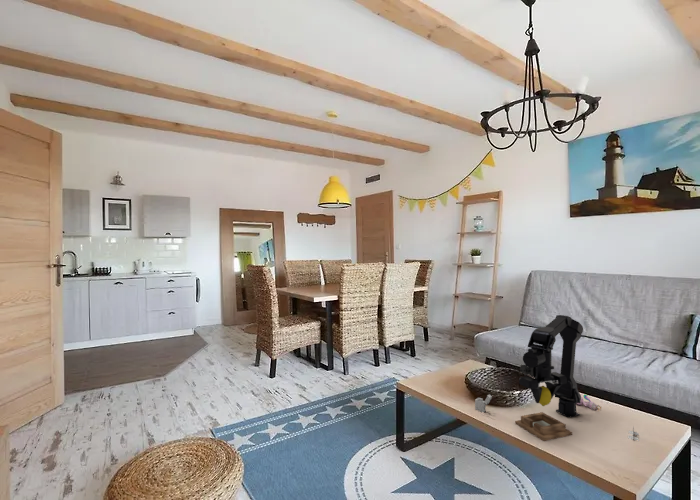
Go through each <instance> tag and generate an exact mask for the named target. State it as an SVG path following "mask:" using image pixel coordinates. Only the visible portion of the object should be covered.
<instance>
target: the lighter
mask: <svg viewBox="0 0 700 500" xmlns="http://www.w3.org/2000/svg"><path fill="white" fill-rule="evenodd" d="M492 398H493V396H492V395H491V394H490V393H489V394H487V395H486V398H485V400H484V398H481V397H477V398H476V399H474V410H475V411H478V412H481V413H486V405H489V403H490V402H491V400H492Z"/></svg>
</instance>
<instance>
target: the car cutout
mask: <svg viewBox="0 0 700 500" xmlns="http://www.w3.org/2000/svg"><path fill="white" fill-rule="evenodd" d="M629 433H630V434H629ZM628 434H629V435H627V438H628V439H629V440H633V439H634V440H633V441H636V440H638V441H637V442H639V440H640V439H639V438H638V436H636V435H639V436H640V434H639V432H637V431H635V426H634V425H633V429H632V430H628ZM634 434H635V435H634Z"/></svg>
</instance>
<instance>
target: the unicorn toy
mask: <svg viewBox="0 0 700 500" xmlns="http://www.w3.org/2000/svg"><path fill="white" fill-rule="evenodd" d="M584 399H585V400H586V401H584ZM576 405H578V406H582V405H584V406H585V407H588V408H589V409H591V410H592V411H595V410H597V412H600V410H602V406H600V405H599V404H596V403H595V402H594V401H592V400H591V399H590V398H589V397H588V394H583V397H582V396H581V401H580V403H576Z"/></svg>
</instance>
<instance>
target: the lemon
mask: <svg viewBox="0 0 700 500" xmlns="http://www.w3.org/2000/svg"><path fill="white" fill-rule="evenodd" d="M540 387H541V388H542V393H541V397H540V401H539V403H538V404H540V405H541V406H542V407H545V406H548V405H550V403H551V401H552V399H551V393H550V391H549V389H548V388H546V385H541V386H540Z"/></svg>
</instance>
